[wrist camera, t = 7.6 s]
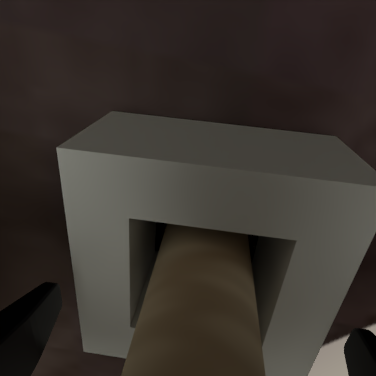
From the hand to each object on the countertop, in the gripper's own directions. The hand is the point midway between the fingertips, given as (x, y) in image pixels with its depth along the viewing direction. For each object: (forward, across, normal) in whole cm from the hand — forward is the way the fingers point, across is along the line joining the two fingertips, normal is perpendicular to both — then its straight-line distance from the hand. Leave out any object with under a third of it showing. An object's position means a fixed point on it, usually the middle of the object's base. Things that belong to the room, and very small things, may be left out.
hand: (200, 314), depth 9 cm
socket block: (+6, 0, 0) cm, 6 cm away
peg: (+6, 0, 0) cm, 6 cm away
